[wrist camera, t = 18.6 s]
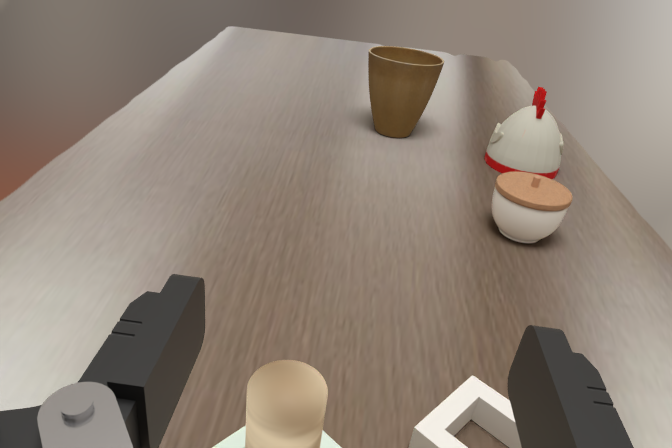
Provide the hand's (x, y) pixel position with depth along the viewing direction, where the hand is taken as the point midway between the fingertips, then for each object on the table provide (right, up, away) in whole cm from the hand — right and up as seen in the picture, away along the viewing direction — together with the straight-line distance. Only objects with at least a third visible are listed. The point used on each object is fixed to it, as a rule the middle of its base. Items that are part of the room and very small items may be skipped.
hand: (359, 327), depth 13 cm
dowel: (-5, -19, +24) cm, 31 cm away
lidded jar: (+27, +1, +68) cm, 73 cm away
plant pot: (+11, +22, +100) cm, 103 cm away
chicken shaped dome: (+35, +14, +92) cm, 99 cm away
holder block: (+12, -17, +33) cm, 39 cm away
